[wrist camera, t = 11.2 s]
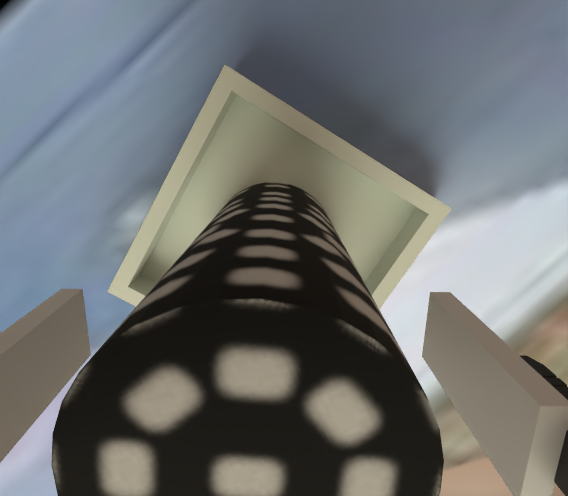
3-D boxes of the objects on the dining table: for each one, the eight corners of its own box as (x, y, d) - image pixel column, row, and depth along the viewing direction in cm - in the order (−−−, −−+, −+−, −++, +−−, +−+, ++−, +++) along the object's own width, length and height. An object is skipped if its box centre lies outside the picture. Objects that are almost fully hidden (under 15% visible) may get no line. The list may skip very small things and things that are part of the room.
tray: (125, 276, 29) (107, 291, 26) (231, 72, 25) (224, 64, 23) (311, 375, 31) (314, 399, 28) (434, 201, 28) (451, 208, 25)
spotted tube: (340, 187, 27) (481, 316, 8) (326, 302, 29) (408, 628, 10) (215, 176, 27) (35, 281, 7) (211, 292, 29) (64, 606, 10)
